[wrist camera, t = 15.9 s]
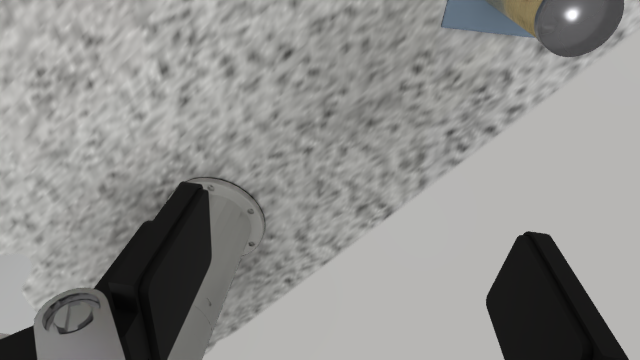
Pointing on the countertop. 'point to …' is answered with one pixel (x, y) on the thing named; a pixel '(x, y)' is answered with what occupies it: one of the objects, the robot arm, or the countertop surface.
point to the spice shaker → (565, 22)
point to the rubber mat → (479, 18)
